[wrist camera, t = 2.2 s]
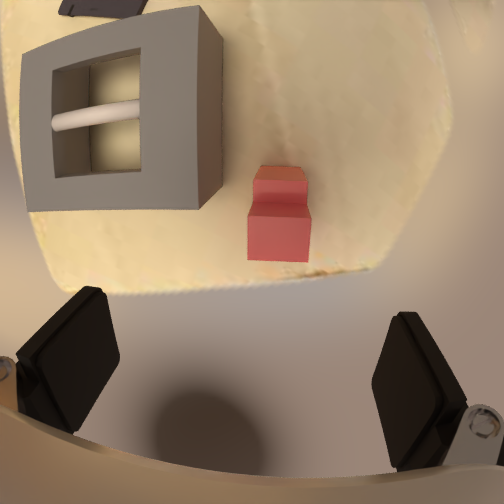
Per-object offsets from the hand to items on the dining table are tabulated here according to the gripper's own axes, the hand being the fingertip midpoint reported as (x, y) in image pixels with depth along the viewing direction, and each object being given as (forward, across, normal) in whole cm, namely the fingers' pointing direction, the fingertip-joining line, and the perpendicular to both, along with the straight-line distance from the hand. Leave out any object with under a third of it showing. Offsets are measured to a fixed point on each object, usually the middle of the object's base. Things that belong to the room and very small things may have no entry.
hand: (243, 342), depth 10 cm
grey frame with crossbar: (+25, +14, -8) cm, 30 cm away
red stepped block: (+25, -1, 0) cm, 25 cm away
